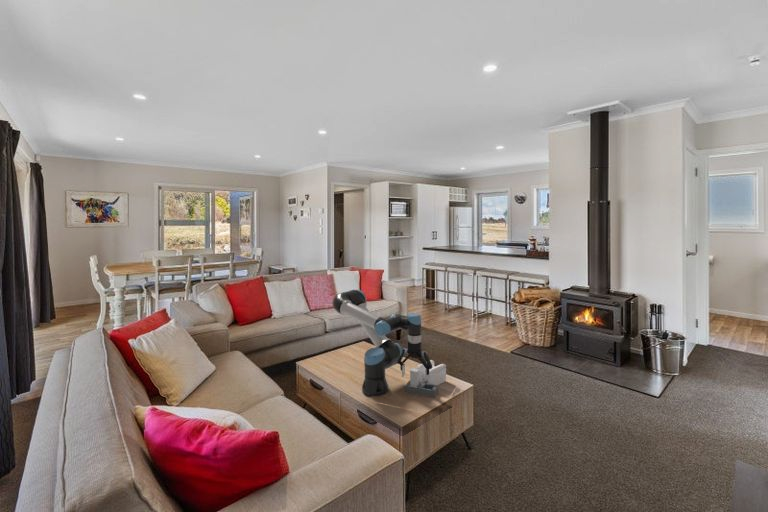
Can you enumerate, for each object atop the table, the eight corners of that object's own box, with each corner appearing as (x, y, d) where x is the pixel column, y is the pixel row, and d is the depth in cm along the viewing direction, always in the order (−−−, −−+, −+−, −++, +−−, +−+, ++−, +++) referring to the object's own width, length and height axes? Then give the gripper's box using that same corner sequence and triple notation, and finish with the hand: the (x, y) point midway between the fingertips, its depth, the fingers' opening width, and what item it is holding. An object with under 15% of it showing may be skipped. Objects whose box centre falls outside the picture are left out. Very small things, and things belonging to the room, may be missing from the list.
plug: (410, 391, 208) (410, 370, 206) (413, 387, 212) (413, 367, 211) (417, 392, 206) (416, 371, 205) (419, 388, 210) (419, 368, 209)
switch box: (405, 392, 207) (405, 385, 207) (409, 387, 214) (409, 380, 213) (434, 398, 200) (434, 390, 200) (438, 392, 207) (438, 385, 206)
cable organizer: (433, 376, 227) (433, 358, 226) (446, 382, 219) (447, 363, 218) (416, 384, 217) (416, 365, 216) (430, 390, 209) (430, 371, 208)
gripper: (391, 340, 207) (391, 376, 210) (434, 346, 197) (434, 384, 199) (396, 336, 214) (396, 371, 216) (438, 342, 204) (438, 378, 206)
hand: (414, 378), depth 208 cm, fingers open, 13 cm apart
